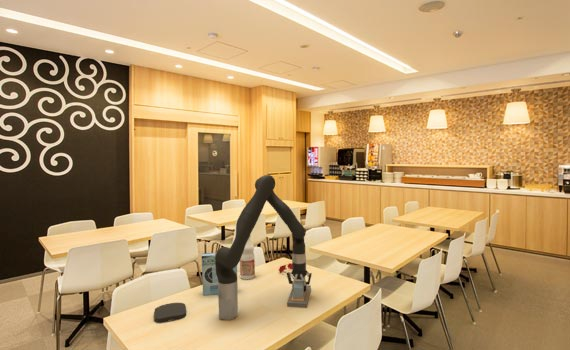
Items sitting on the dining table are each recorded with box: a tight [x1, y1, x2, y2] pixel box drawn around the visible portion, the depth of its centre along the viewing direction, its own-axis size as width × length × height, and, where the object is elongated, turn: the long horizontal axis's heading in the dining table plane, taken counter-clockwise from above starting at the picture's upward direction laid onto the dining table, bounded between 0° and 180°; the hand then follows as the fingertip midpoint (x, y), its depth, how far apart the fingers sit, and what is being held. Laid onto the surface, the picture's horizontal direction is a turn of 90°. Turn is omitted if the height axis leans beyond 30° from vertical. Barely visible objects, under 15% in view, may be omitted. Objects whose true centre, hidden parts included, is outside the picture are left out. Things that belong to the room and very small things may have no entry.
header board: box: [286, 284, 312, 309], centre depth 175 cm, size 24×10×6 cm, turn 170°
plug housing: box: [293, 279, 304, 299], centre depth 178 cm, size 21×5×6 cm, turn 170°
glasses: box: [277, 262, 309, 280], centre depth 211 cm, size 14×16×5 cm
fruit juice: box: [239, 234, 256, 281], centre depth 205 cm, size 9×9×28 cm
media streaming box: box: [153, 302, 187, 324], centre depth 157 cm, size 15×15×3 cm
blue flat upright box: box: [201, 252, 239, 296], centre depth 182 cm, size 20×5×23 cm, turn 98°
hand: (299, 291), depth 175 cm, fingers closed on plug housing, 5 cm apart
